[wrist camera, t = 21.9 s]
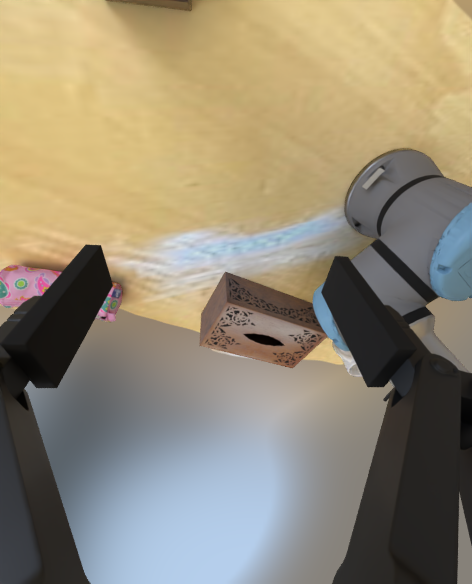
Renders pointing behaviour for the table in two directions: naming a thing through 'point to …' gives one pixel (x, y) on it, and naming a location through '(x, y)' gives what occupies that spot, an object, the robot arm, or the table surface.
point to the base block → (161, 3)
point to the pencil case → (34, 282)
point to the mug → (348, 361)
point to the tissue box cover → (259, 323)
